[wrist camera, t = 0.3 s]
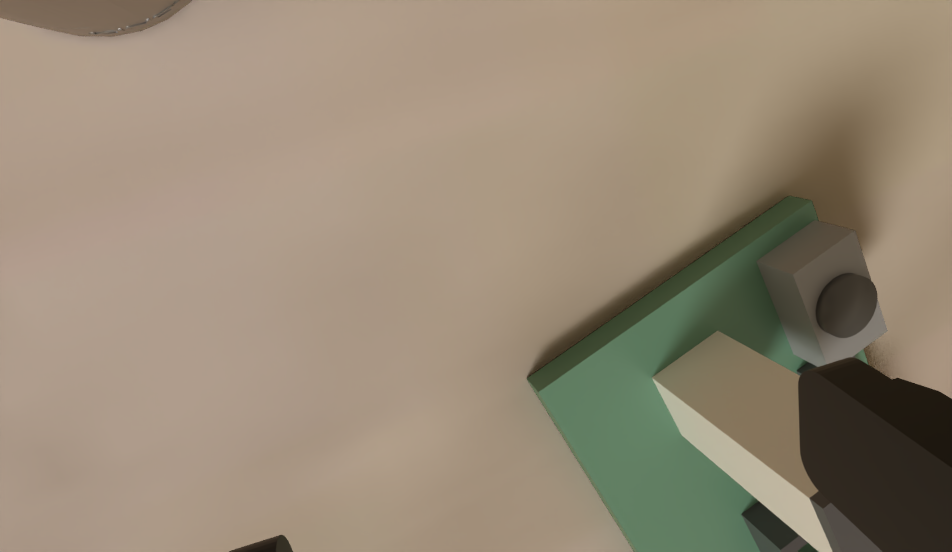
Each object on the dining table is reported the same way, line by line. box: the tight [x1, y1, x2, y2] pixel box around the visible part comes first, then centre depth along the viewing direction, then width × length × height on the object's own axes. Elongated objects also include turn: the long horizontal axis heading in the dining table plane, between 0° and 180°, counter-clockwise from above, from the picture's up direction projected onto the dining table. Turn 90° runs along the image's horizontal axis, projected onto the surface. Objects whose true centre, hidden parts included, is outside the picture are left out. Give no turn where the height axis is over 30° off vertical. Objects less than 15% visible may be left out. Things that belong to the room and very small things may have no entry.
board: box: [527, 196, 887, 552], centre depth 34 cm, size 22×16×4 cm
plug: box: [652, 331, 882, 552], centre depth 28 cm, size 4×4×11 cm
